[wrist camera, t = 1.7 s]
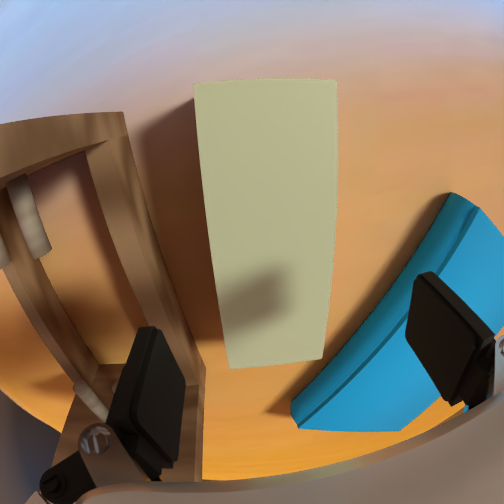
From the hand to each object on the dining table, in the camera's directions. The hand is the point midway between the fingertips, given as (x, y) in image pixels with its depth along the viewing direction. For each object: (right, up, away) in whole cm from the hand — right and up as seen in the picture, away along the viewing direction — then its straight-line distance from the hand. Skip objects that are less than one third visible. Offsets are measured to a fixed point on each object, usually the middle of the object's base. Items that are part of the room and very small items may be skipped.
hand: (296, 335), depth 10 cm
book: (+15, -5, +15) cm, 22 cm away
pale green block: (-1, +5, +9) cm, 10 cm away
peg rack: (-13, +1, +9) cm, 16 cm away
